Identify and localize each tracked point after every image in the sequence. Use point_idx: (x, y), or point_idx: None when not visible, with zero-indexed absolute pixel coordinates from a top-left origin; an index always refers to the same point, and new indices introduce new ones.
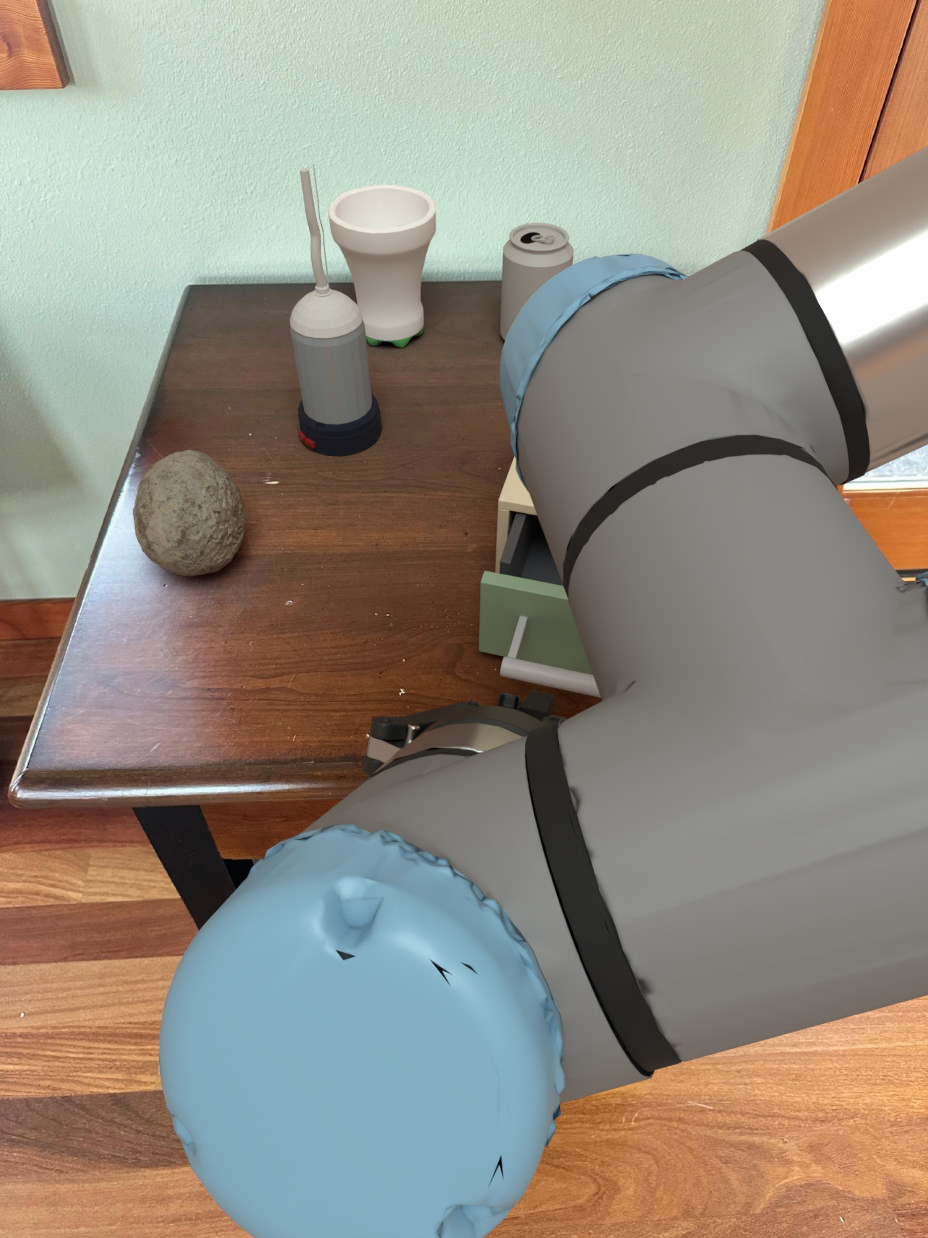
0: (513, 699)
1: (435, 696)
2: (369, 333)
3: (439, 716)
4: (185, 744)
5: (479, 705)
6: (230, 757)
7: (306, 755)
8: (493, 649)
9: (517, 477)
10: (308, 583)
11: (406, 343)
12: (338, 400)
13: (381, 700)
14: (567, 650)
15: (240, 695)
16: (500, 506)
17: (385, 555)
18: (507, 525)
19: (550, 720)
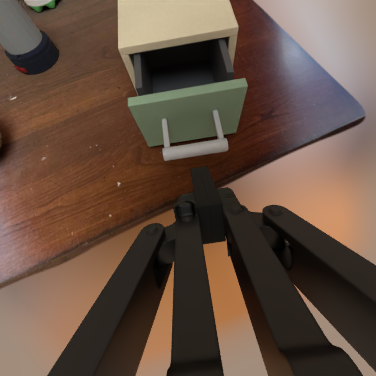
0: (189, 207)
1: (136, 179)
2: (32, 3)
3: (97, 345)
4: (14, 262)
5: (158, 229)
6: (41, 259)
7: (82, 240)
8: (155, 143)
9: (124, 30)
10: (50, 144)
11: (54, 4)
12: (15, 35)
13: (110, 193)
14: (194, 129)
15: (35, 220)
16: (121, 53)
17: (83, 114)
18: (132, 67)
19: (234, 215)
